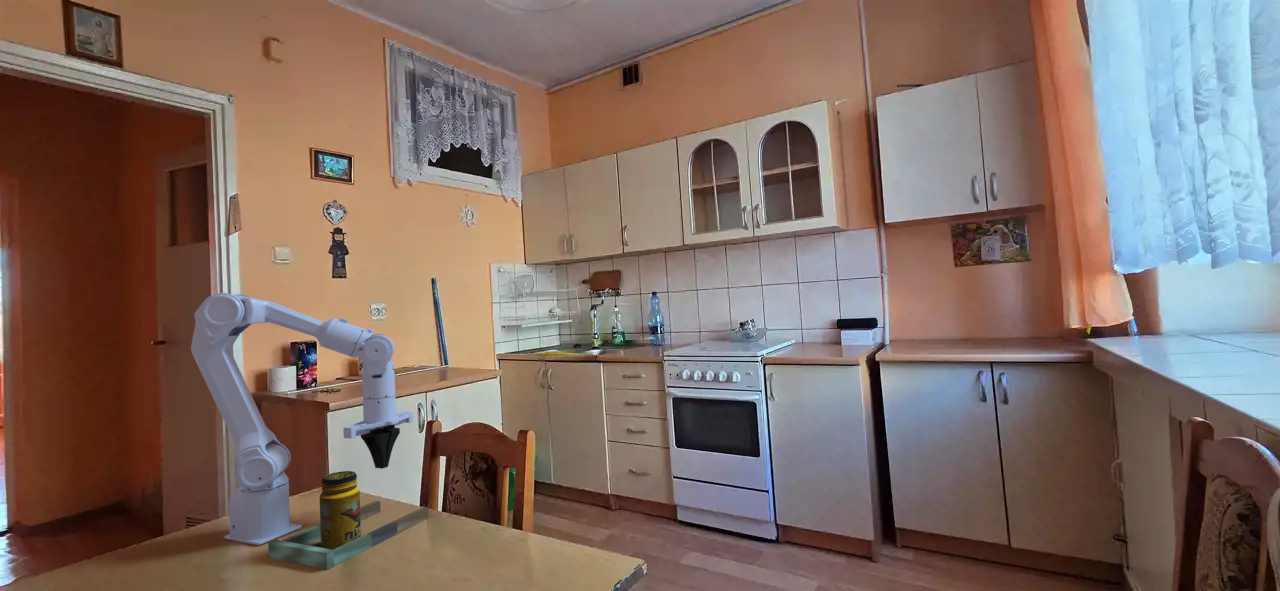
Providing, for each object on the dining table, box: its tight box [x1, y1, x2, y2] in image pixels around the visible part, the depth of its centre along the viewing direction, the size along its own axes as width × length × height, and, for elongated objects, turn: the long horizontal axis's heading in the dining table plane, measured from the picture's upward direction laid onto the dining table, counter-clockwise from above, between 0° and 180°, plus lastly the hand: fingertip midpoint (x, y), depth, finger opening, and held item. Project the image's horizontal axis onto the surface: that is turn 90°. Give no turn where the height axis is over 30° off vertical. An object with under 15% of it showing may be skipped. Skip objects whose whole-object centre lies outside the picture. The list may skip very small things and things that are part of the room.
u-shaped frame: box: [267, 500, 430, 571], centre depth 97 cm, size 13×21×2 cm, turn 158°
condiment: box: [308, 470, 362, 550], centre depth 93 cm, size 7×8×12 cm
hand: (381, 467), depth 107 cm, fingers closed
